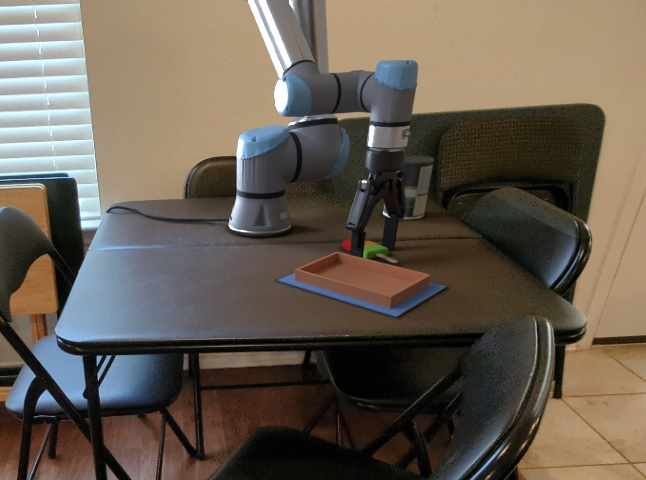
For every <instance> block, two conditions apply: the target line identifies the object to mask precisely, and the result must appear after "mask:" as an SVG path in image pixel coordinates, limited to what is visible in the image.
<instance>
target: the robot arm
mask: <svg viewBox="0 0 646 480" xmlns="http://www.w3.org/2000/svg"><path fill="white" fill-rule="evenodd" d="M245 2H247V3H248V5H249V7H250V10H251V12H252V15H253V17H254V20H255V22H256V25H257V27H258V30H259V33H260V35H261V38H262V40H263V41H264V45H265V47H266V49H267V52H268V55H269V57H270V60H271V63H272V65H273V67H274V70H275V72H276V75H277V77H278V80H277V82H276V85H275V87H274V94H273V96H274V100H275V103H274V105H275V108H276V111H277V113H278V114H279V115H280V116H282V117H286V118H292V119H291V120H290V122H289V123H288V124H287V126H286V125H282V124H281V125H279V124H277V125H276V124H275V125H266V126H260V127H254V128H252V129H249V130H246V131H244V132H243V133H241V135H240V136H239V137H238V139H237V149H236V154H235V156H236V198H235V200H234V204H233V206H232V211H231V214H230V217H229V218H221V217H220V218H219V217H218V218H176V217H166V216H159V215H155V214H151V213H148V212H145V211H143V210H141V209H138V208H132V207H128V206H123V205H114V206H111V207H109V208H107V210H106V211H105V213H110V212H111V211H112V210H117V209H119V210H125V211H129V212H136V213H140V214H142V215H143V216H145V217H148V218H152V219H155V220H162V221H168V222H169V221H170V222H183V223H184V222H185V223H186V222H188V223H189V222H193V223H194V222H200V223H202V222H207V223H208V222H228V231H230V232H231V233H233V234H235V235H238V236H242V237H247V238H248V237H249V238H273V237H278V236H283V235H285V234H288V233H289V232H290V231H291V230H292V220H291V219H292V218H291V216H290V213H289V209H288V204H287V201H286V200H287V199H286V186H287V184H295V183H303V182H311V181H316V182H317V181H318V182H319V181H323V180H329V179H333V178H335V177H338V175H339V174H340V173H341V172H342V171H343V169H344V167H345V166H346V164H347V162H348V159H349V155H350V147H351V146H350V145H351V143H350V137H349V134H347V133H348V131H347V130H346V129H345V128H344V127H341V126H339V118H338V116H337V115H339V114H348V113H349V114H352V113H353V114H354V113H366V114H370V116H369V117H370V118H369V124H368V131H367V132H368V133H367V138H366V147H368V149H366V151H365V155H364V156H365V158H364V165H363V167H364V169H365V170H367V171H369V174H368V178H359V180H358V185H357V190H356V193H355V196H354V200H353V203H352V206H351V209H350V211H349V215H348V218H347V221H346V224H345V229H346V230H347V231H351V237H350V239H351V246H350V252H349V253H348V255H352V256H357V257H361V258H363V253H364V246H365V239H367V238H366V237H367V231H365V229H366V227H367V225H368V222H369V220H370V219H371V217H372V214H373V212H374V210H375V208H376V206H377V204H378V203H380V202H381V200H382V199H383V204H384V203H385V207H386V210H387V213H388V216H389V217H390V218H389V217H387V216H386V217H385V218H384V223H383V224H384V225H383V232H382V238H381V239H382V240H381V246H384V247H386V248H388V249H389V250H392V251H393V250H395V249H396V248H395V247H396V240H397V233H398V228H399V222H400V221H399V220H402V219H403V218H404V216H405V214H404V213H405V212H406V202H405V188H404V178H405V171H402V169H403V168H404V164H405V157H406V155H407V151H406V149H405V148H406V147H407V146H408V140H409V138H410V136H411V131H410V128H411V122H412V116H413V111H414V103H415V97H416V92H417V87H418V75H419V74H418V73H419V64H418V62H417V61H416V60H414V59H391V60H379V62H377V64H376V67H375V70H374V71H372V70H371V71H370V70H363V69H358V70H357V69H356V70H351V71H342V72H330V65H329V45H328V43H329V42H328V22H327V20H328V19H327V1H326V0H245ZM336 114H337V115H336ZM399 206H401V207H399ZM399 218H400V219H399Z"/></svg>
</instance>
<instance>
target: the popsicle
mask: <svg viewBox="0 0 646 480" xmlns="http://www.w3.org/2000/svg"><path fill="white" fill-rule="evenodd" d="M341 245H342V246H341V247H342V249H343V250H345V251H347V252H349V253H350V246H351V238H346V239H344V240H343V241H342V244H341ZM389 250H390V249H388V248H386V247H384V246H382V244H378V243H376V242H374V241H371V240H369V239H367V238H365V246H364V253H363V258H365V259H369V260H373V259H378V258H380V259H383V260H386V261H387V262H390V263H393V264H398V263H399V262H398V260H396V259H394V258H392V257H389V256H388V255H389V252H390V251H389Z"/></svg>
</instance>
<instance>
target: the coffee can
mask: <svg viewBox="0 0 646 480" xmlns="http://www.w3.org/2000/svg"><path fill="white" fill-rule="evenodd" d="M434 163H435V158H434V157H431V156H428V155H421V154H406V157H405V164H404V168H403V169H402V171H405V178H404V188H405V202H406V212H405V213H404V214H405V216H404V218H403V219H400V218H399V220H403V221H413V220H420V219H422V218H424V217H425V212H426V205H427V201H428V194H429V187H430V182H431V177H432V172H433V167H434ZM399 207H401V206H399ZM382 215H383V216H384V217H386V218H387V217H389V216H388V213H387V210H386V207H385V203H384V202H383V210H382ZM389 218H390V217H389Z"/></svg>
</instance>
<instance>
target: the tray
mask: <svg viewBox="0 0 646 480" xmlns="http://www.w3.org/2000/svg"><path fill="white" fill-rule="evenodd" d="M294 273H295V275H294V280H295V281H299V282H302V283H305V284H309V285H312V286H315V287H319V288H322V289H325V290H329V291H332V292H335V293H339V294H342V295H345V296H349V297H352V298H356V299H359V300H362V301H366V302H369V303H372V304H376V305H379V306H382V307H386V308H389V309H390V308H392V307H394V306H395V305H397V304H399V303H401V302H402V301H404V300H406V299H407V298H409V297H411V296H413V295H414V294H416V293H418V292H420V291H421V290H423V289H425V288H426V287H428V286H429V284H430V282H431V278H432V274H429V273H426V272H422V271H418V270H413V269H409V268H405V267H401V266H397V265H393V264H390V263H385V262H380V261H377V260H373V259H365V258H361V257H357V256H352V255H349V253H345V252H340V251H335V252H333V253H330V254H328V255H326V256H323V257H320V258H319V259H316V260H314V261H311V262H309V263H307V264H304V265H302V266H299V267H297V268H295V269H294Z"/></svg>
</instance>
